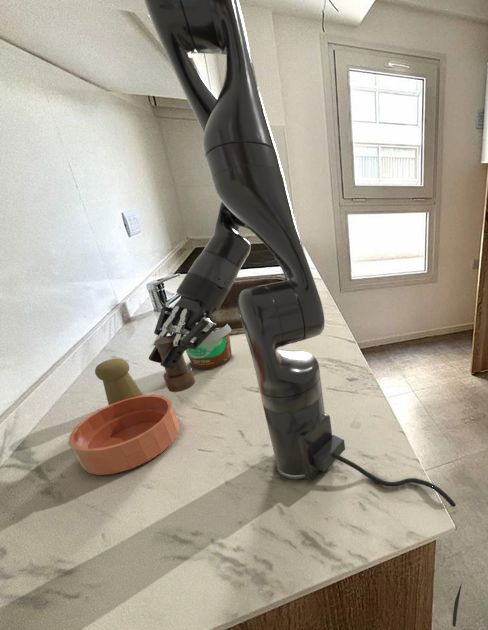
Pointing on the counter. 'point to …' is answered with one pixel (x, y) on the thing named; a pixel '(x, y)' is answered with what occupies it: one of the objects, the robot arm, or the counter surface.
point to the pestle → (179, 375)
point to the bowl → (124, 434)
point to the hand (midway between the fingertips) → (160, 363)
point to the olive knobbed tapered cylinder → (117, 380)
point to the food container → (212, 349)
